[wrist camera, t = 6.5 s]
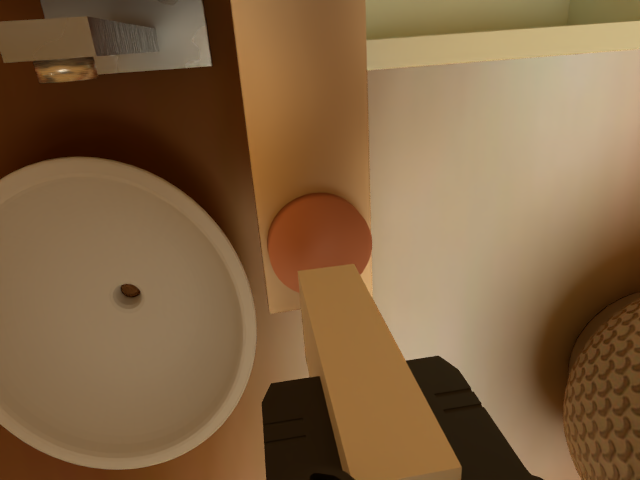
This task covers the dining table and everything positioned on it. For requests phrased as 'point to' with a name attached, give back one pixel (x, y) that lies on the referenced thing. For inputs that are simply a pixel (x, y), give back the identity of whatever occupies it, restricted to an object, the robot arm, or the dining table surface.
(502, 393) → the dining table surface
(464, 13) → the cream open box
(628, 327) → the planter
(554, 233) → the dining table surface
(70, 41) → the stand
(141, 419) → the dish
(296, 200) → the lever
